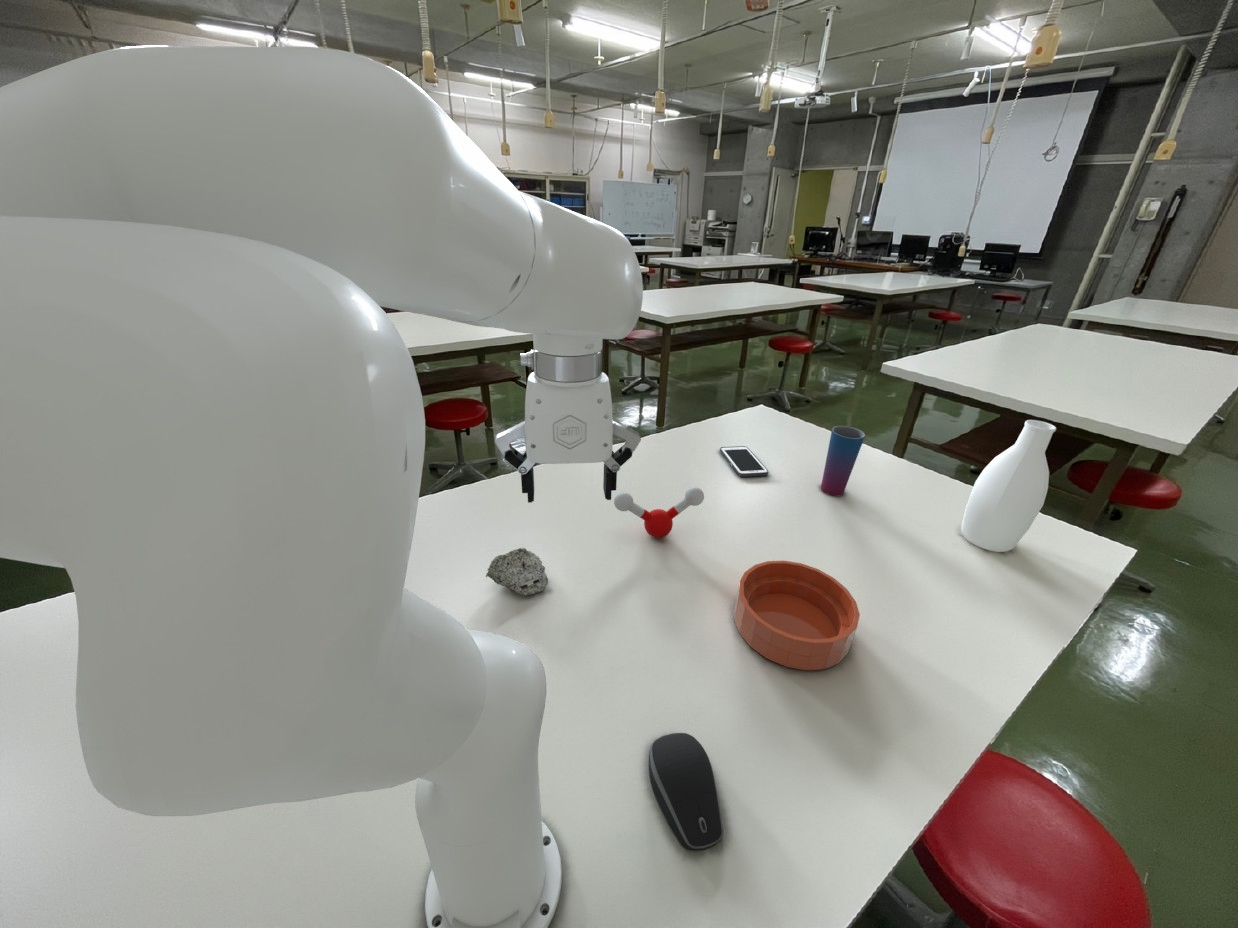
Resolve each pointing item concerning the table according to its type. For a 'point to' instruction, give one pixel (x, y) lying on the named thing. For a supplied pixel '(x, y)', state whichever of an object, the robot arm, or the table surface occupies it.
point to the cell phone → (743, 461)
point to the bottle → (1009, 491)
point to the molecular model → (659, 511)
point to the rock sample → (519, 571)
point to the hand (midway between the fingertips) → (569, 495)
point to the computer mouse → (686, 790)
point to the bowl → (795, 615)
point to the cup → (841, 458)
